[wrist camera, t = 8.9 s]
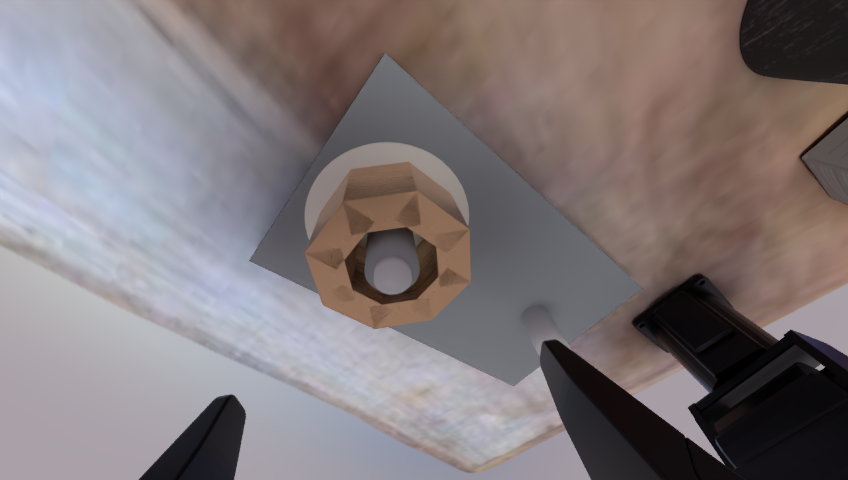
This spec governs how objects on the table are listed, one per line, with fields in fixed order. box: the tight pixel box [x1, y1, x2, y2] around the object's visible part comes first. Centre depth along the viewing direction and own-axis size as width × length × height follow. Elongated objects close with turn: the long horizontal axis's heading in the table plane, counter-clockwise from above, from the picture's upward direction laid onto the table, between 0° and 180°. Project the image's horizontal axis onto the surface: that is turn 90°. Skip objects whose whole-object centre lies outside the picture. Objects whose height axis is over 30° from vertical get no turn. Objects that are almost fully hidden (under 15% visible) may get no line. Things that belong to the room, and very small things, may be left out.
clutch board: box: [249, 53, 643, 386], centre depth 18 cm, size 23×13×7 cm, turn 50°
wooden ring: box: [305, 162, 471, 329], centre depth 15 cm, size 7×7×4 cm
